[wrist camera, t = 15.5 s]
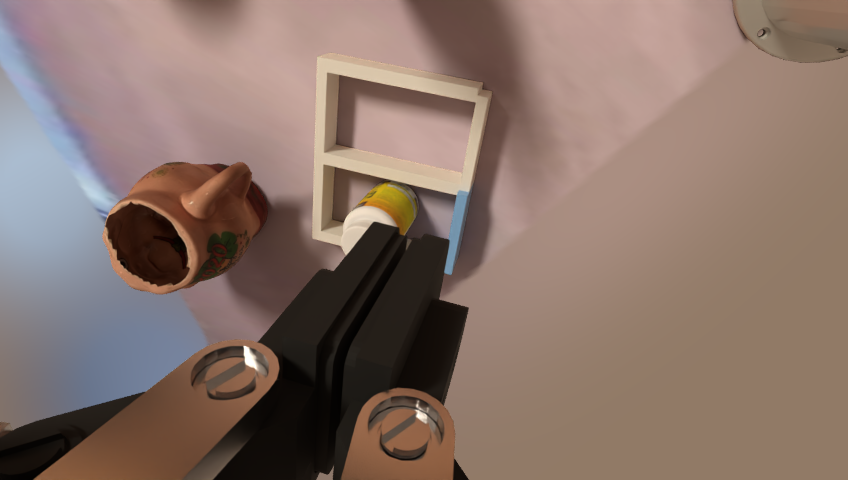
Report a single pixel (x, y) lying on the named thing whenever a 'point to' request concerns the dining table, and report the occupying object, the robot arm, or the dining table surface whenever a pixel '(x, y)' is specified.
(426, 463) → the robot arm
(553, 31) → the dining table surface
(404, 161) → the white divided tray
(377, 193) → the supplement bottle
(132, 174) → the dining table surface
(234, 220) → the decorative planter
